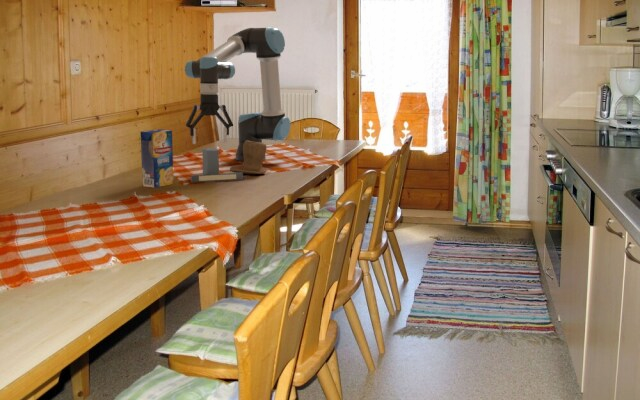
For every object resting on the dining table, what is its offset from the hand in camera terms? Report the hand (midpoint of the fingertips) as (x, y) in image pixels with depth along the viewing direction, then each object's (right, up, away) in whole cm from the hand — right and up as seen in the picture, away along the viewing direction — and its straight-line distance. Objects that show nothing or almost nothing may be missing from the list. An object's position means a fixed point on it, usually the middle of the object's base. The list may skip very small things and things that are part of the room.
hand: (209, 143), depth 334 cm
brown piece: (+16, -13, +12) cm, 24 cm away
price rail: (+4, -16, -7) cm, 18 cm away
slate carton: (0, -14, +3) cm, 15 cm away
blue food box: (-19, -18, -18) cm, 32 cm away
